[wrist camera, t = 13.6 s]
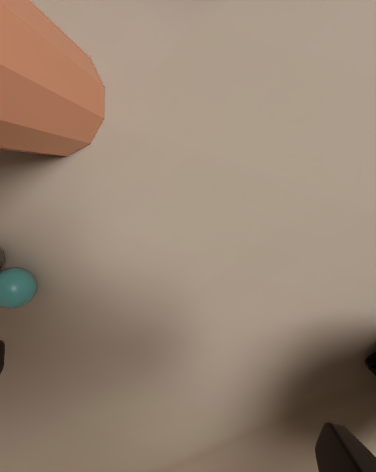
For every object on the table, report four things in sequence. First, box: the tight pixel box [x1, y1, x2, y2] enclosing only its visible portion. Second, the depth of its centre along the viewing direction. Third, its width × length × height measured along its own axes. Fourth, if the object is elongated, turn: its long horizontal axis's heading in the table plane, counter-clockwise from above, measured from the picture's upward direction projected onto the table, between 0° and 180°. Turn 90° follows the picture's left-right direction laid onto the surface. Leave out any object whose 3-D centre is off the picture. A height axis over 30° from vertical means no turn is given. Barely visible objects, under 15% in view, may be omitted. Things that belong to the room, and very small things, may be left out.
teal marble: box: [0, 268, 37, 308], centre depth 20 cm, size 3×3×3 cm
